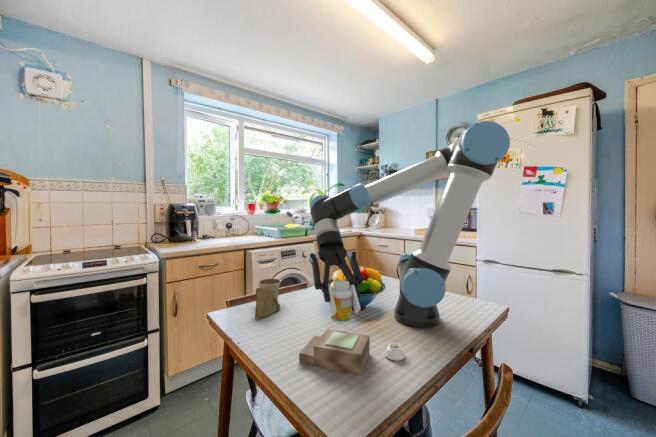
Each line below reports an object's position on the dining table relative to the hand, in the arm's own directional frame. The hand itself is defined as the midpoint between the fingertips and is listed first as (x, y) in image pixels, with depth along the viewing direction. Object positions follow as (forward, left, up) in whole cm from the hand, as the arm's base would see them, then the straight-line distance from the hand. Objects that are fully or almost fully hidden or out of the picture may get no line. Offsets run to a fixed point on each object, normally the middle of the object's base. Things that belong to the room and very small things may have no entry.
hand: (346, 312), depth 67 cm
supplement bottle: (+2, -3, -4) cm, 5 cm away
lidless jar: (-11, -9, -14) cm, 20 cm away
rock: (+37, -23, -14) cm, 46 cm away
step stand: (+3, -3, -14) cm, 14 cm away
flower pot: (+43, -34, -14) cm, 56 cm away
